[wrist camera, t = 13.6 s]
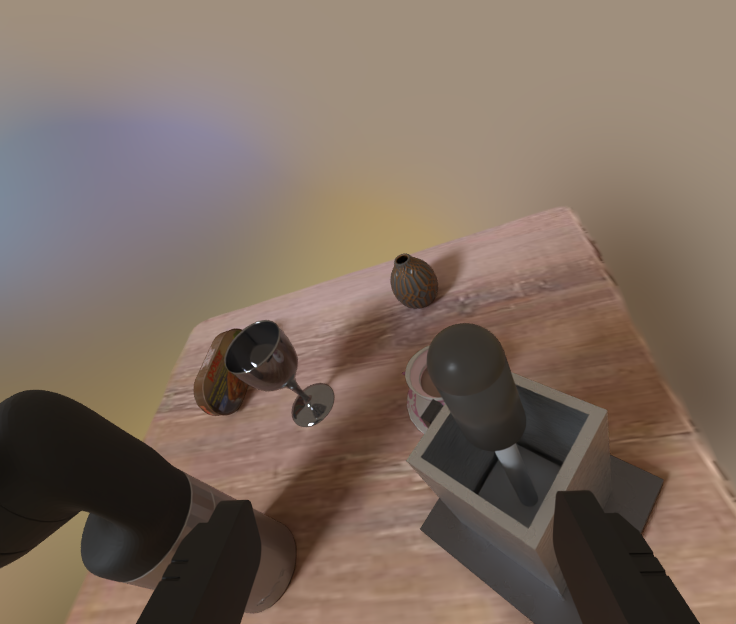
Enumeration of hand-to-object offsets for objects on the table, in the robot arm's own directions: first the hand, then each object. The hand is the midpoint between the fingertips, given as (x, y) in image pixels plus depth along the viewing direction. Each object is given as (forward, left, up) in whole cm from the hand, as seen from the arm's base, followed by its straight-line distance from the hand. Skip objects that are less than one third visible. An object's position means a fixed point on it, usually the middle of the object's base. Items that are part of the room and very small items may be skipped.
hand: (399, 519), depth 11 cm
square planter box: (-5, +8, -34) cm, 35 cm away
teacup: (-19, +15, -34) cm, 42 cm away
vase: (-33, +27, -34) cm, 55 cm away
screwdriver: (-5, +8, -30) cm, 32 cm away
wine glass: (-37, +4, -34) cm, 51 cm away
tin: (-53, 0, -34) cm, 63 cm away
